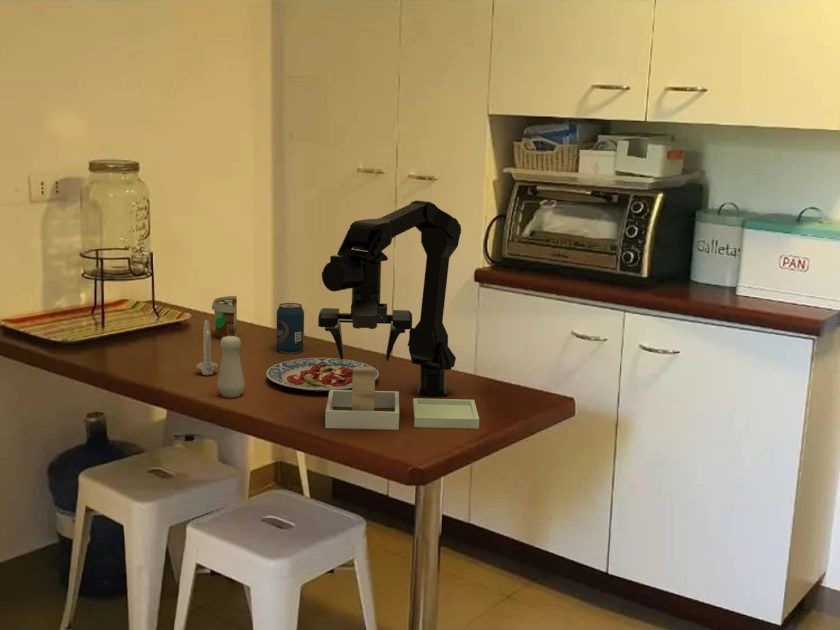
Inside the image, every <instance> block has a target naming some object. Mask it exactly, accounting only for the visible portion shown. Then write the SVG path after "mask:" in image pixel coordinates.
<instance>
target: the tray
mask: <svg viewBox="0 0 840 630" xmlns="http://www.w3.org/2000/svg"><path fill="white" fill-rule="evenodd" d="M412 400H413V402H412V411H413V423H414V428H427V429H428V428H430V429H431V428H435V429H437V428H438V429H442V428H443V429H470V430H471V429H472V430H473V429H474V430H475V429H476V430H477V429H478V430H479V429H480V417H479V413H478V409H477V406H476V402H475V399H460V398H459V399H458V398H457V399H452V398H421V397H420V398H413V399H412Z"/></svg>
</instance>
